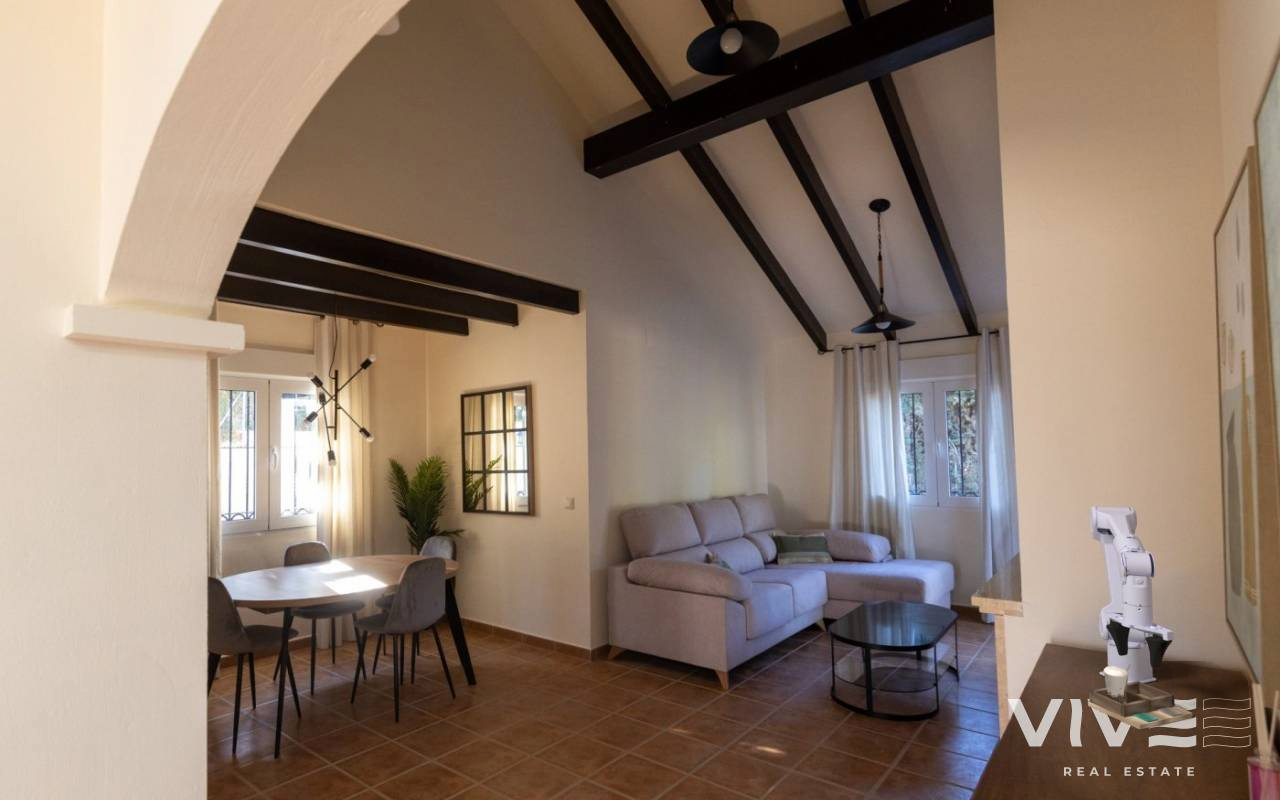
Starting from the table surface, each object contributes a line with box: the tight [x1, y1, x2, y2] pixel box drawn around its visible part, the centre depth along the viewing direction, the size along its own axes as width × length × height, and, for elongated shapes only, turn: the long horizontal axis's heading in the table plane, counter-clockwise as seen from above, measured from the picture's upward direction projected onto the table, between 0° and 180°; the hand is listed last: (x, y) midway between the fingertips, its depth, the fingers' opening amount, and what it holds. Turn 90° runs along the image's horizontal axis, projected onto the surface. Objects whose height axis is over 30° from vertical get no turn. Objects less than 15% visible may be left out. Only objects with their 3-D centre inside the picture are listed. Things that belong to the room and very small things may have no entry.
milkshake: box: [1103, 664, 1131, 704], centre depth 151 cm, size 4×5×10 cm
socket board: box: [1087, 681, 1194, 730], centre depth 151 cm, size 16×12×4 cm
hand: (1139, 660), depth 155 cm, fingers open, 7 cm apart
